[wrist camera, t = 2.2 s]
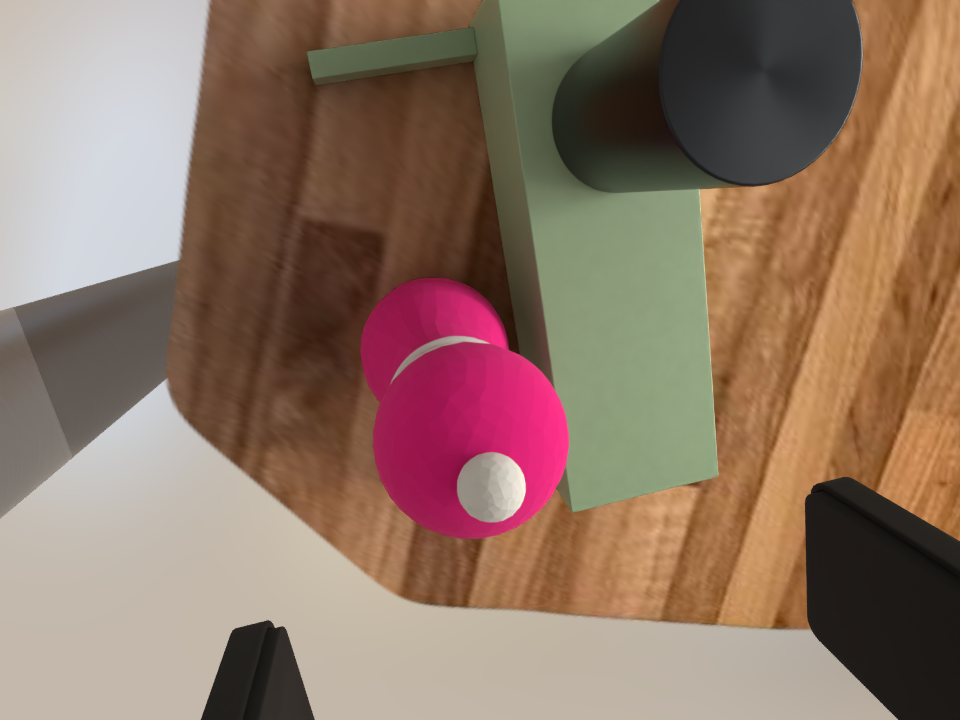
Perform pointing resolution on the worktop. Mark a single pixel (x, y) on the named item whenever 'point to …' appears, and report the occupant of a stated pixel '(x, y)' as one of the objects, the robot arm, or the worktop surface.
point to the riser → (581, 252)
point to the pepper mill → (459, 412)
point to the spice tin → (710, 95)
